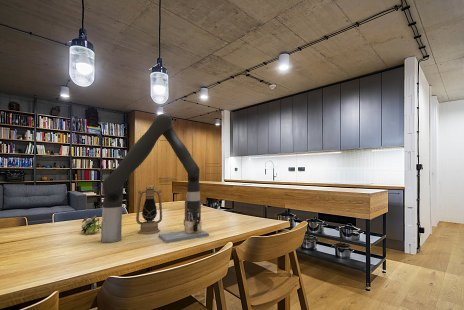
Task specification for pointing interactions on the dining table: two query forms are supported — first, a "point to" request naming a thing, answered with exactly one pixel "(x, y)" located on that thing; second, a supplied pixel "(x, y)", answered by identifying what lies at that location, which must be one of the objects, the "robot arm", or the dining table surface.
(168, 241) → the slate board
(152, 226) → the lantern
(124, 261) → the dining table surface
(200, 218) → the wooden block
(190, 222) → the sanding block
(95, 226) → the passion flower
